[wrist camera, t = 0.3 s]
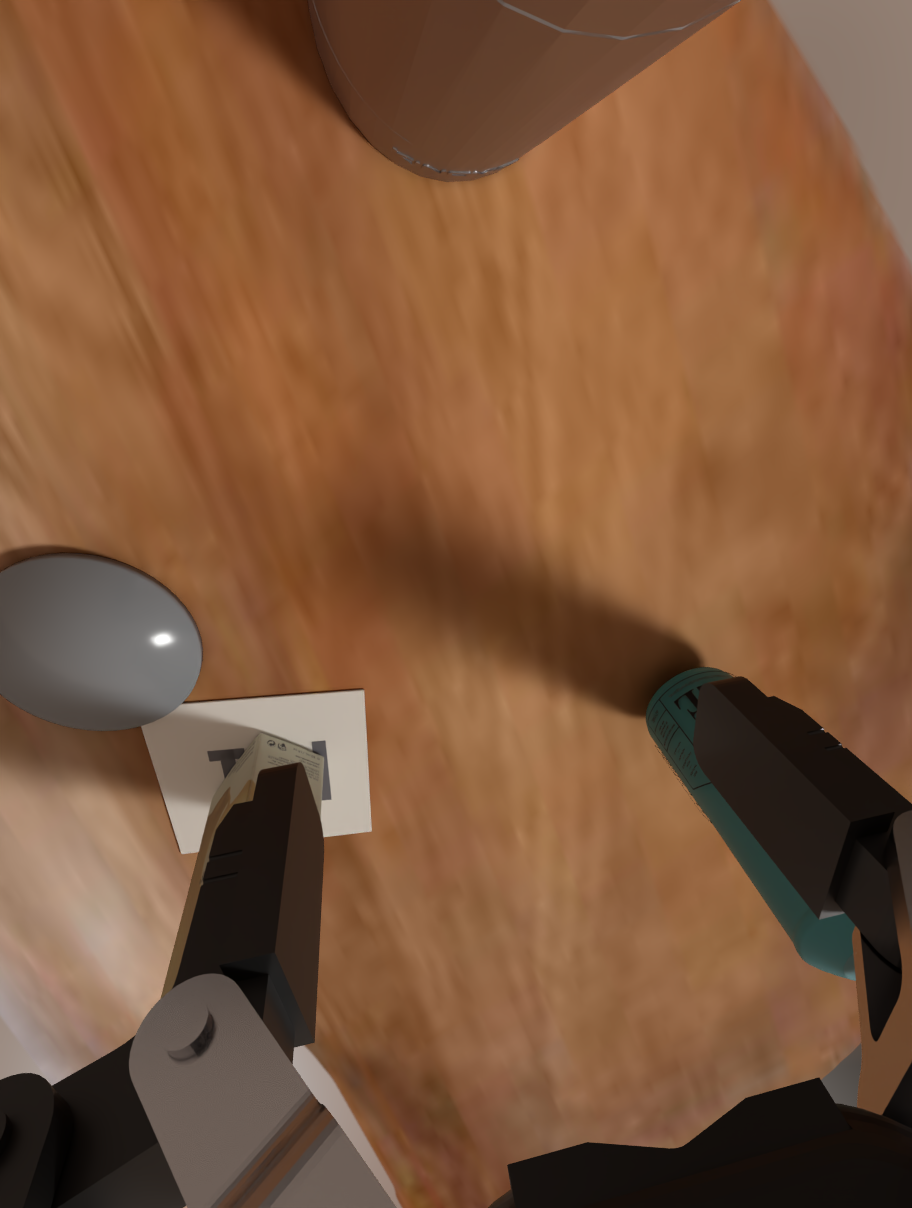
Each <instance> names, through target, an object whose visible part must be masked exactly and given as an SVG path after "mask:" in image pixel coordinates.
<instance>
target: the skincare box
mask: <svg viewBox="0 0 912 1208" xmlns="http://www.w3.org/2000/svg"><path fill="white" fill-rule="evenodd" d="M297 762H301V763H302V764H303V766H304V768H305V771H306V774H307V777H308V780H309V784H310V787H311V790H312V793H313V796H314V799H315V803H316V806H317V809H318V812H319V815H320V819H321V804H322V787H323V769H324V757H323V756H321V755H318V754H316V753H313V752H311V751H308V750H306V749H303V748H301V747H298V746H296V745H293V744H291V743H288V742H285V741H282V740H280V739H277V738H274V737H271V736H268V735H265V734H262V733H261V734H259V735H258V736H257V737H256V738H255V739H254V741H253V742H252V743H251V744H250V746H249V747H248V748H247V749H246V751H245V752H244V753H243V755H242V756H241V757H240V758H239V760H238V761H237V762H236V764H235V765H234V767H233V768H232V769H231V771H230V772H229V773H228V775H227V777H226V778H225V779H224V781H223V782H222V784H221V785H220V787H219V788H218V790H217V791H216V793H215V794H214V796H213V798H212V801H211V805H210V809H209V813H208V817H207V821H206V825H205V829H204V833H203V837H202V841H201V845H200V849H199V853H198V857H197V860H196V864H195V868H194V872H193V875H192V879H191V883H190V887H189V891H188V895H187V899H186V903H185V907H184V910H183V914H182V918H181V922H180V926H179V930H178V933H177V937H176V941H175V945H174V949H173V953H172V957H171V960H170V964H169V968H168V972H167V976H166V980H165V984H164V987H163V991H162V995H161V998H162V997H163V996H164V995H166V994H167V993H168V992H169V991H170V990H171V989H172V987H173V985H174V983H175V980H176V977H177V974H178V970H179V967H180V963H181V959H182V955H183V951H184V948H185V944H186V940H187V936H188V933H189V929H190V925H191V921H192V918H193V914H194V910H195V906H196V903H197V899H198V895H199V891H200V887H201V885H203V876H204V872H205V869H206V865H207V862H209V854H210V850H211V846H212V842H213V839H214V835H215V831H216V829H217V827H218V826H219V825H220V823H221V822H222V820H223V819H224V817H225V816H226V815H227V813H228V812H229V810H230V809H231V807H232V806H233V805H234V804H238V803H243V802H248V801H253V796H254V791H255V787H256V782H257V777H258V774H259V772H260V770H262V769H267V768H272V767H277V766H282V765H287V764H292V763H297Z"/></svg>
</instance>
